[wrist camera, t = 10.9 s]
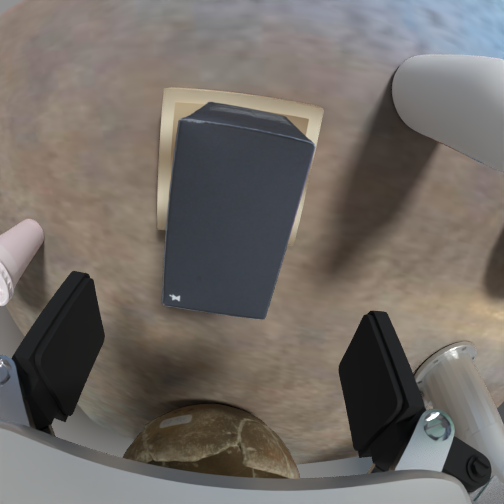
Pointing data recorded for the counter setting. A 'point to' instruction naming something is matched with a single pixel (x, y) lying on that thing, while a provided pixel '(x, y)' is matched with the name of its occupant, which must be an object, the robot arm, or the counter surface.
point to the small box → (231, 208)
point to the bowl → (214, 444)
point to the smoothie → (17, 254)
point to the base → (191, 99)
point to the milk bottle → (455, 103)
